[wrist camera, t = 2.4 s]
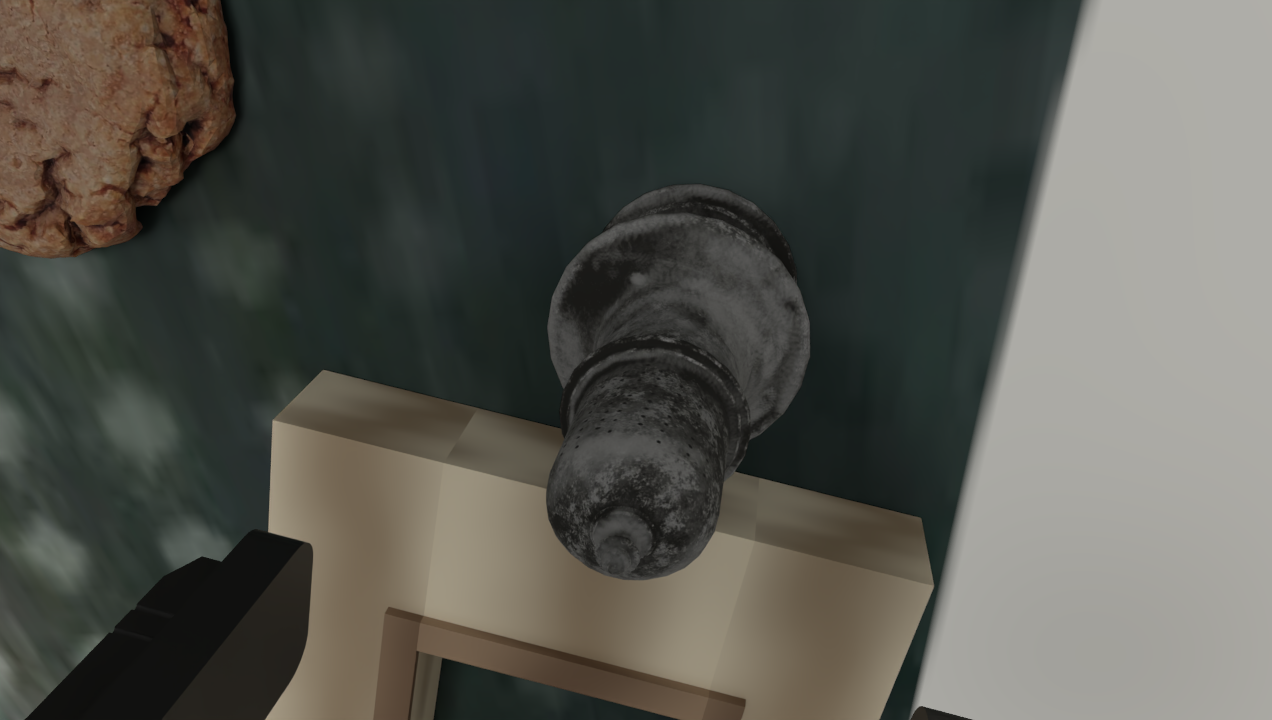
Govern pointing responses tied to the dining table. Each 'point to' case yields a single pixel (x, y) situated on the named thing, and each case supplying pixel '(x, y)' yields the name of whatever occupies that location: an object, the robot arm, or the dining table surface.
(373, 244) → the dining table surface
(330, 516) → the birch frame
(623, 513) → the dark grey tall piece
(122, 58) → the cookie
